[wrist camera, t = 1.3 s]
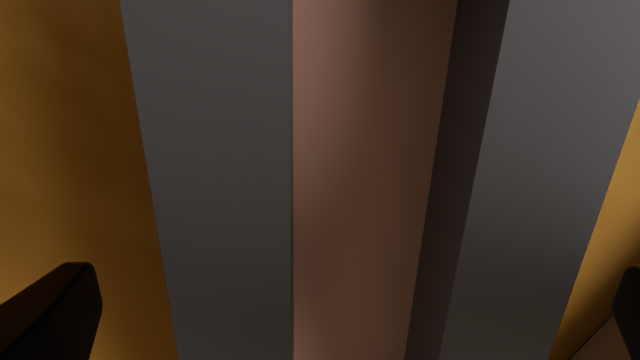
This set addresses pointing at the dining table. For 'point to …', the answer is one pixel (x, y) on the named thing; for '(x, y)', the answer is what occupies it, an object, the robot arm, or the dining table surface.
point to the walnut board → (604, 344)
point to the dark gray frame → (378, 169)
